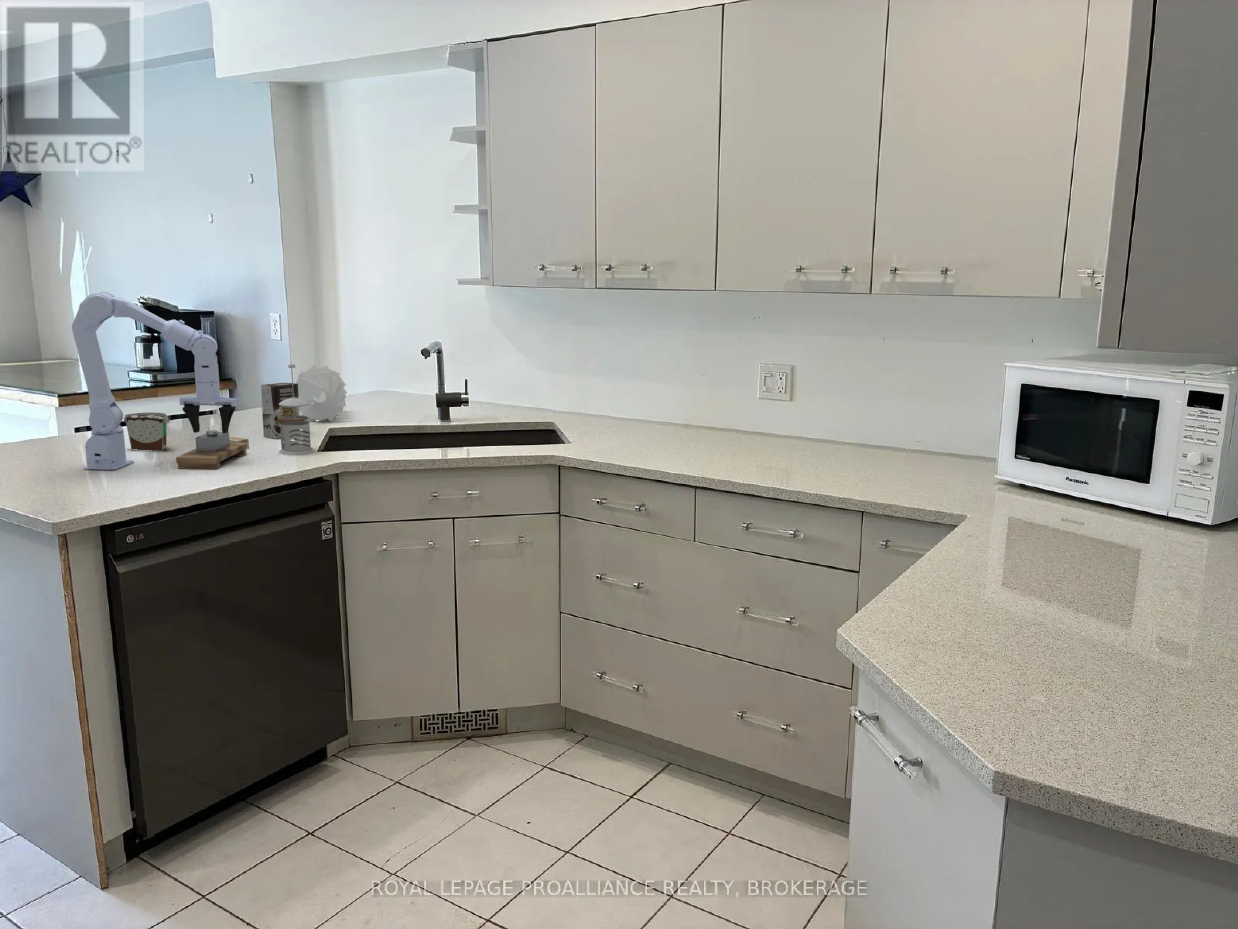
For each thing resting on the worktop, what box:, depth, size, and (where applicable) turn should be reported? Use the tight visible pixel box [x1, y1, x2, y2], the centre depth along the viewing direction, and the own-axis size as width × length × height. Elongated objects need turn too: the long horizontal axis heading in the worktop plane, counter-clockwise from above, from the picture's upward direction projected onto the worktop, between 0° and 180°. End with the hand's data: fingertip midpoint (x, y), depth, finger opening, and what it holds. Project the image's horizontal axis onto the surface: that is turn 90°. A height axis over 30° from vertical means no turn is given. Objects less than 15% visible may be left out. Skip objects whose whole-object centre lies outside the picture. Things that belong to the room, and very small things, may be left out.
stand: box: [175, 443, 248, 470], centre depth 241 cm, size 20×10×3 cm, turn 0°
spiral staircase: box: [295, 364, 348, 422], centre depth 309 cm, size 18×18×25 cm
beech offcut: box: [229, 436, 250, 450], centre depth 257 cm, size 4×6×3 cm, turn 62°
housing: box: [195, 429, 230, 453], centre depth 240 cm, size 9×5×5 cm, turn 0°
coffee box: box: [260, 382, 301, 440], centre depth 275 cm, size 9×6×16 cm
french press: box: [270, 362, 316, 456], centre depth 252 cm, size 10×12×25 cm
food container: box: [123, 411, 170, 452], centre depth 254 cm, size 12×6×10 cm, turn 84°
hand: (211, 432), depth 239 cm, fingers open, 7 cm apart
